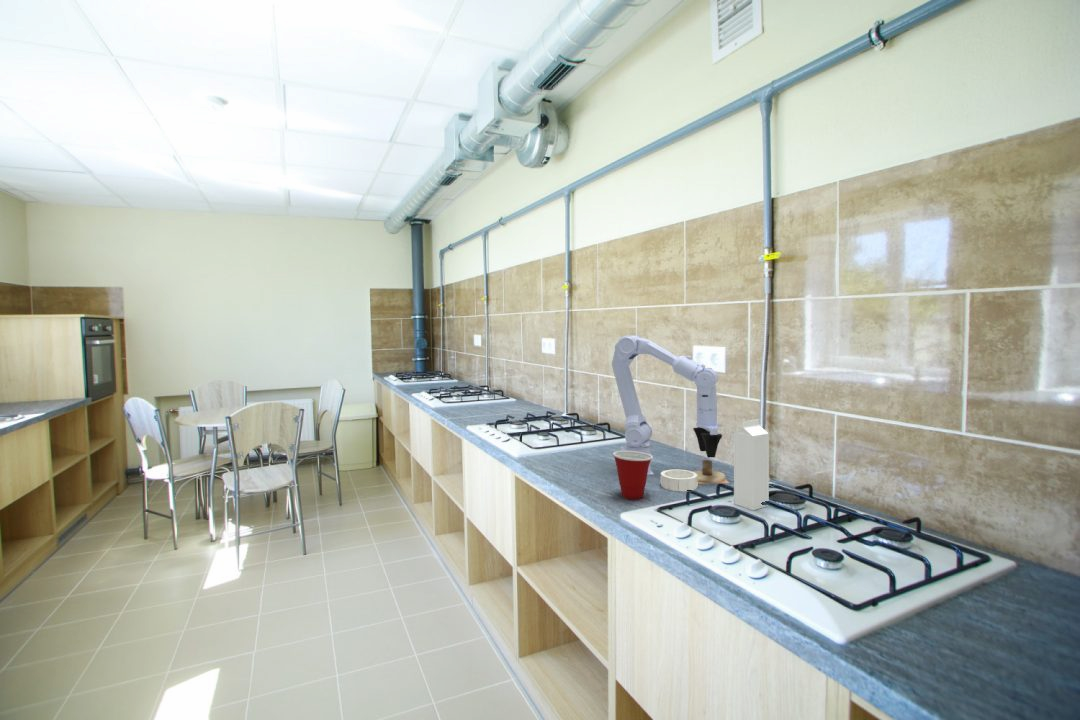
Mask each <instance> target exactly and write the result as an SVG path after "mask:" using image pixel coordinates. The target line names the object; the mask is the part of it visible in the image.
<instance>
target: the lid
mask: <svg viewBox="0 0 1080 720" xmlns="http://www.w3.org/2000/svg"><path fill="white" fill-rule="evenodd" d="M701 463H702V464H701V465H702V469H696V470H693V471H692V472H695V473H696V474H697V475H698V482H702V483H711V484H721V483H720V482H723V481H725V479H726V474H725V473H723V472H721V471H717V470H713V461H712V460H709V459H704V460H703V459H702V462H701Z"/></svg>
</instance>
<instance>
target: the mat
mask: <svg viewBox="0 0 1080 720" xmlns="http://www.w3.org/2000/svg"><path fill="white" fill-rule="evenodd" d="M698 484H699V485H701V484H702V485H704V484H712V483H702V482H698ZM719 484H730V482H729V481H728V479H726V478H725V481H723V482H720V483H719Z"/></svg>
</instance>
